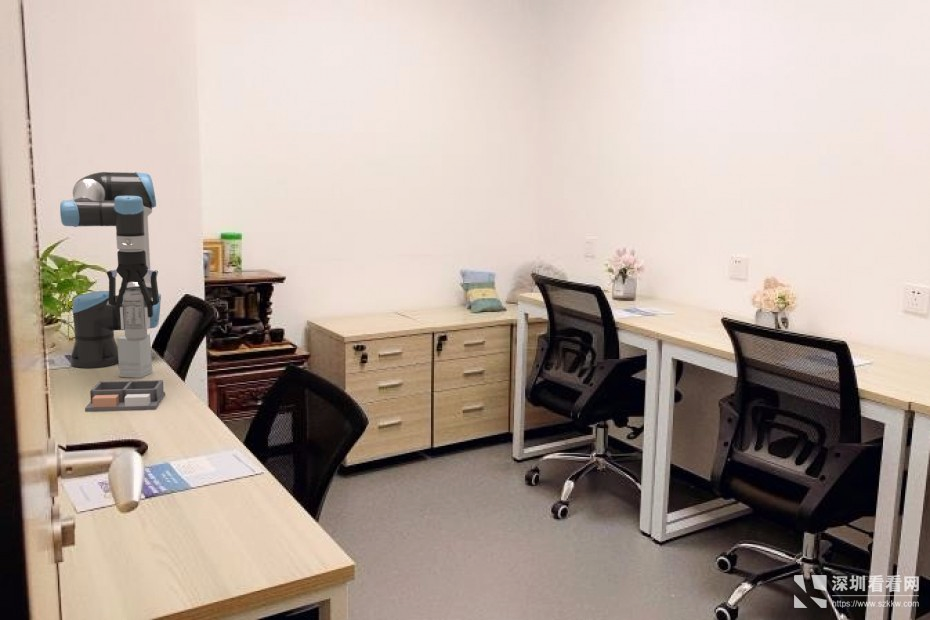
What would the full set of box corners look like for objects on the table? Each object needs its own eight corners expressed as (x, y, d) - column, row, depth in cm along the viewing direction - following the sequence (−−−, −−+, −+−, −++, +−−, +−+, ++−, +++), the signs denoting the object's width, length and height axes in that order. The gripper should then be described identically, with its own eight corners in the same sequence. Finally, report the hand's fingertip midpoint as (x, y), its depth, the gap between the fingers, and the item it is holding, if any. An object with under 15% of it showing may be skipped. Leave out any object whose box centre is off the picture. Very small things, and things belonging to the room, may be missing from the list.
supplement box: (153, 372, 245) (151, 333, 243) (141, 378, 238) (139, 339, 235) (131, 370, 246) (128, 332, 243) (118, 377, 239) (116, 337, 236)
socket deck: (98, 396, 219) (97, 381, 218) (165, 395, 222) (164, 380, 222) (85, 411, 207) (84, 395, 206) (155, 409, 210) (154, 393, 209)
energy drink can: (151, 337, 229) (148, 288, 226) (140, 342, 223) (138, 291, 220) (132, 336, 230) (129, 287, 227) (121, 341, 224) (118, 290, 221)
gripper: (92, 251, 216) (97, 331, 220) (163, 252, 219) (167, 330, 224) (99, 248, 223) (104, 325, 228) (168, 248, 226) (172, 324, 231)
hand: (135, 327), depth 226 cm, fingers closed on energy drink can, 6 cm apart
